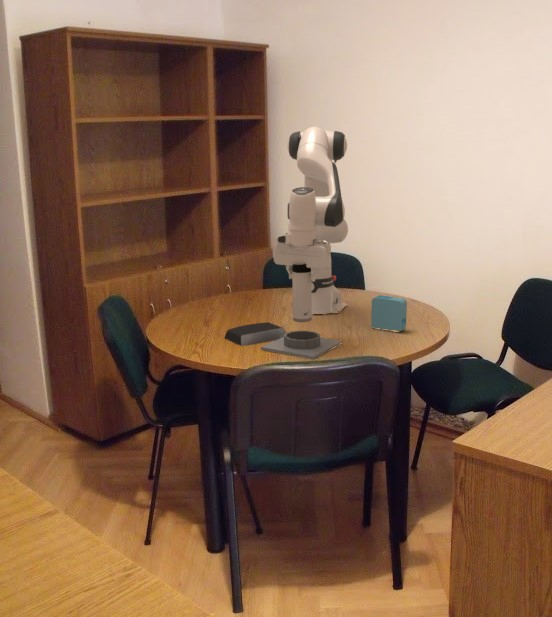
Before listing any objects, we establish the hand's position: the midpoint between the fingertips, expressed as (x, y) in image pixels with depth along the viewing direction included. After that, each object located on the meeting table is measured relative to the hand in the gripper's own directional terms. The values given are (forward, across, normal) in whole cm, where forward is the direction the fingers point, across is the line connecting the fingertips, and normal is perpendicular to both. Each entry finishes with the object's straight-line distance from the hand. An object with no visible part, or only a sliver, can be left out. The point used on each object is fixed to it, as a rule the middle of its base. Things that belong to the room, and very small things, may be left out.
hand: (302, 280), depth 237 cm
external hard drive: (+24, +19, -2) cm, 31 cm away
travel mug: (+14, 0, 0) cm, 14 cm away
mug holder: (+23, 0, 0) cm, 23 cm away
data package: (+23, -16, -35) cm, 45 cm away
